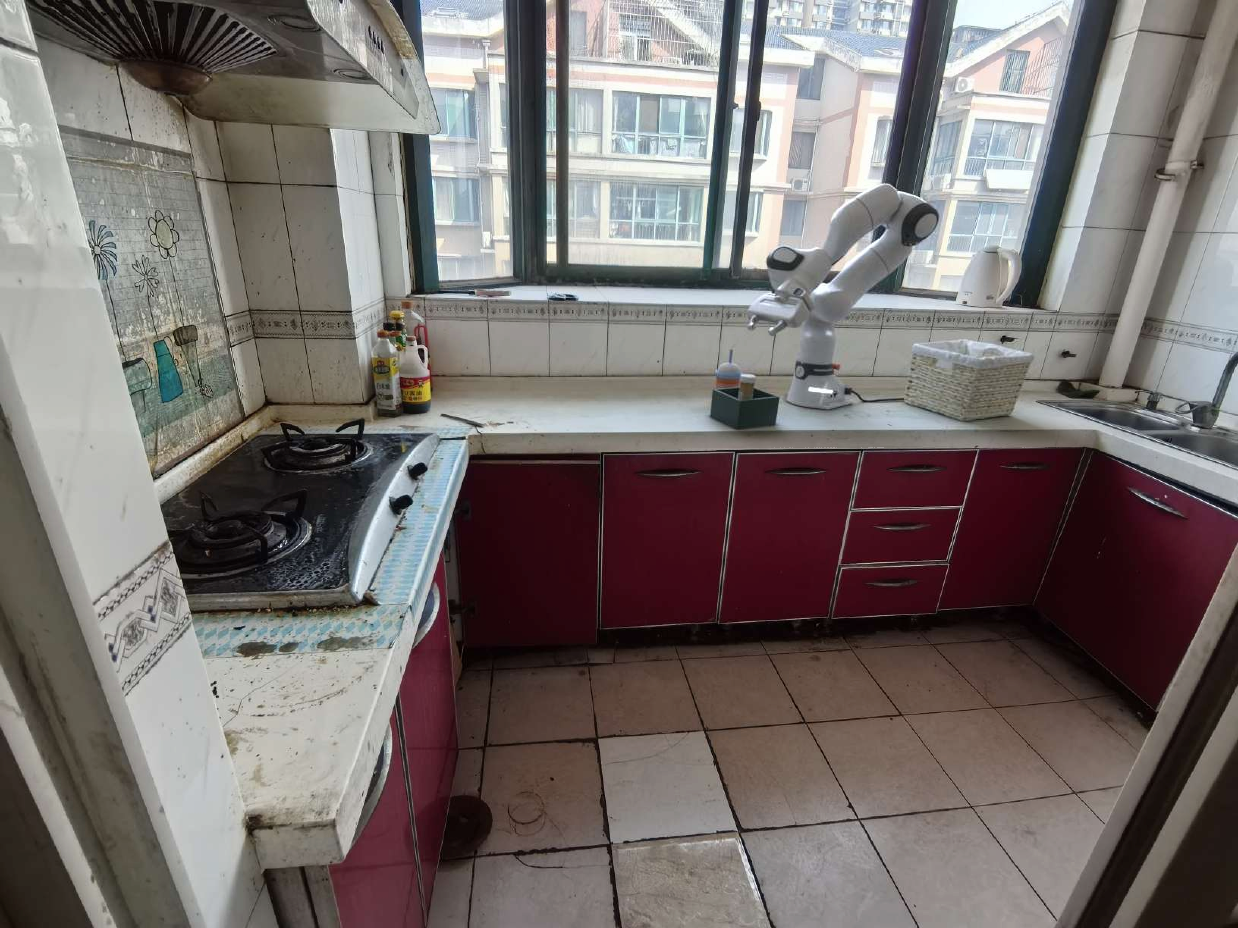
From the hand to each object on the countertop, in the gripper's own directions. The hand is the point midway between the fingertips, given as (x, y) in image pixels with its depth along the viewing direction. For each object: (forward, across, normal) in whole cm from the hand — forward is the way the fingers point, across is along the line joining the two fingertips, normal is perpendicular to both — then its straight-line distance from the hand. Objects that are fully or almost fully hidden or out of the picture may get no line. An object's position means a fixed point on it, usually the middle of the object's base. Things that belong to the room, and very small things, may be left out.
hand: (759, 331), depth 172 cm
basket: (-35, +16, +74) cm, 83 cm away
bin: (+21, 0, +17) cm, 27 cm away
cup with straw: (+16, -17, +21) cm, 32 cm away
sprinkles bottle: (+20, 0, +17) cm, 26 cm away
